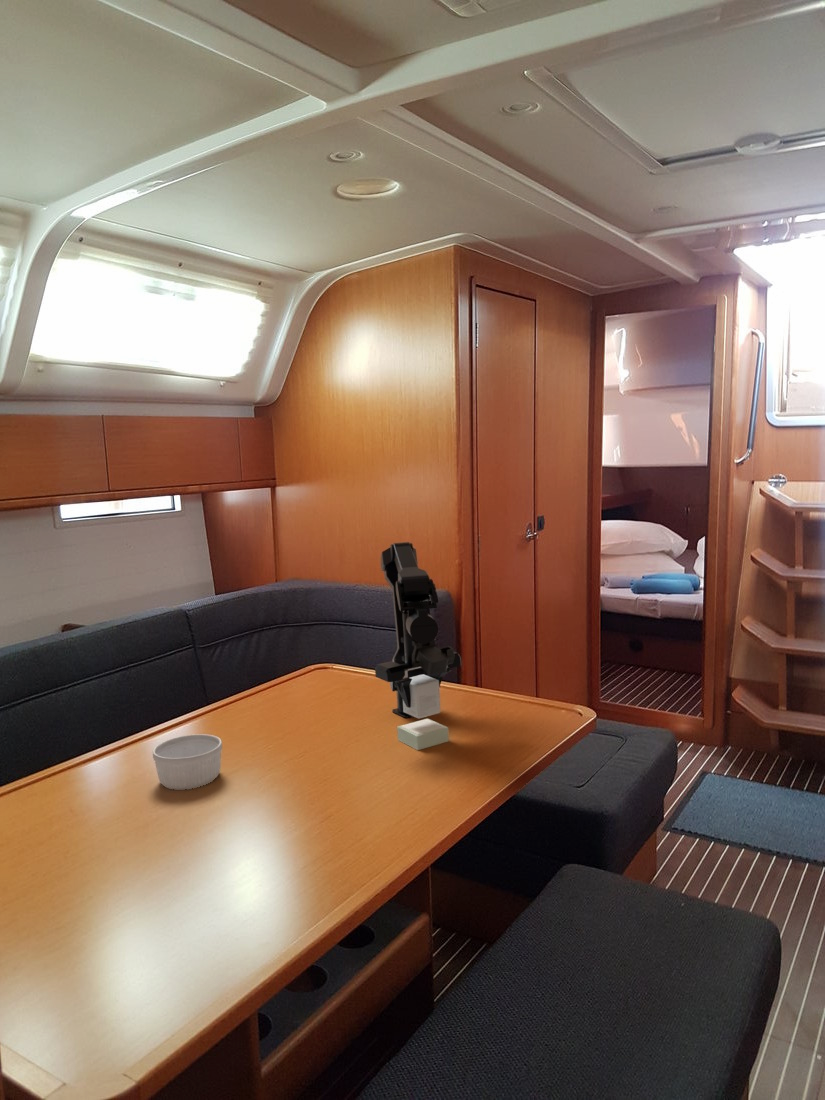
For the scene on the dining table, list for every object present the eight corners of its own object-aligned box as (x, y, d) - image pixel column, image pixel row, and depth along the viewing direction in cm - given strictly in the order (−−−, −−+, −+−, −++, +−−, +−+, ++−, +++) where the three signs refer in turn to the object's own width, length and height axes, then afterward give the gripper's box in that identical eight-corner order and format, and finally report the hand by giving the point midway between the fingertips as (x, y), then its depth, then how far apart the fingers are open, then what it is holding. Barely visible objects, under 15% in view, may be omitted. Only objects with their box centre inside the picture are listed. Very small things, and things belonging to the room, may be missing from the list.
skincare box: (441, 713, 164) (439, 679, 163) (417, 719, 161) (416, 685, 160) (425, 705, 169) (423, 673, 168) (402, 712, 166) (400, 679, 165)
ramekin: (237, 776, 152) (234, 742, 151) (177, 799, 142) (174, 763, 142) (201, 761, 161) (198, 729, 160) (143, 782, 151) (139, 748, 151)
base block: (397, 739, 167) (397, 725, 166) (428, 731, 171) (427, 717, 170) (417, 750, 160) (416, 735, 160) (448, 741, 164) (448, 726, 164)
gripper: (399, 647, 151) (404, 723, 153) (474, 631, 161) (478, 703, 163) (371, 638, 160) (376, 710, 162) (444, 623, 170) (448, 691, 172)
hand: (421, 704), depth 165 cm, fingers closed on skincare box, 6 cm apart
